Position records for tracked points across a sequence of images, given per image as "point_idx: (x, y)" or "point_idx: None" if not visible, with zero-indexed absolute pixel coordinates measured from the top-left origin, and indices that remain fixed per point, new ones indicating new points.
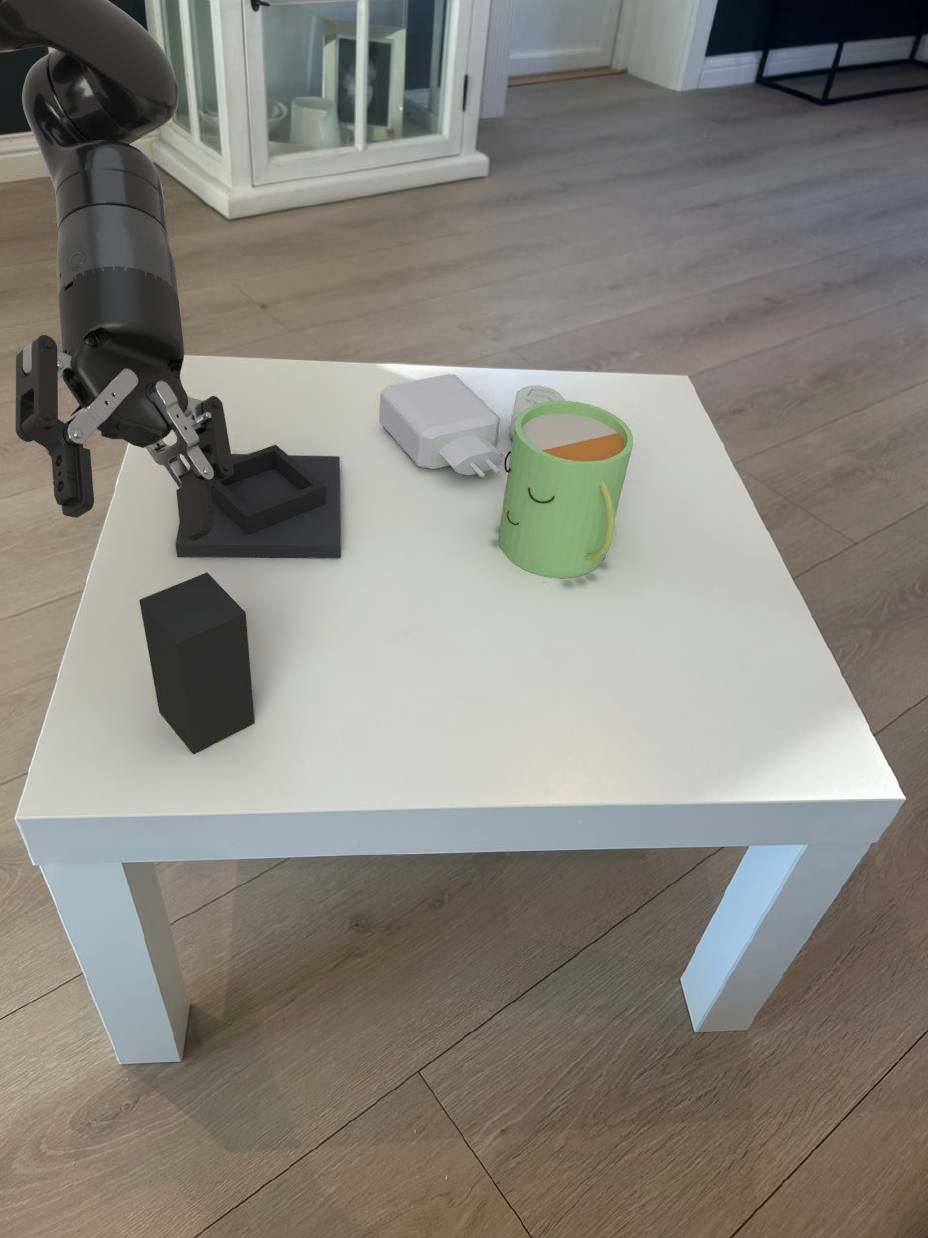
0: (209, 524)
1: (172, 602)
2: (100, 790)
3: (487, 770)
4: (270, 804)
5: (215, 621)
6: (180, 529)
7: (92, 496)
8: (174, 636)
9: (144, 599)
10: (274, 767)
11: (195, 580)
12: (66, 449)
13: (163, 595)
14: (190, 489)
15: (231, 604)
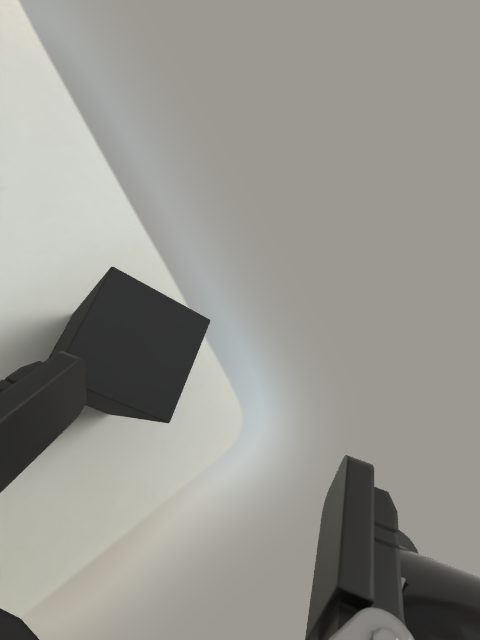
0: (56, 356)
1: (149, 375)
2: (212, 394)
3: (11, 64)
4: (155, 253)
5: (153, 295)
6: (69, 424)
7: (351, 466)
8: (203, 329)
9: (166, 415)
10: (116, 268)
11: None
12: (397, 617)
13: (143, 398)
14: (1, 446)
15: (107, 294)
